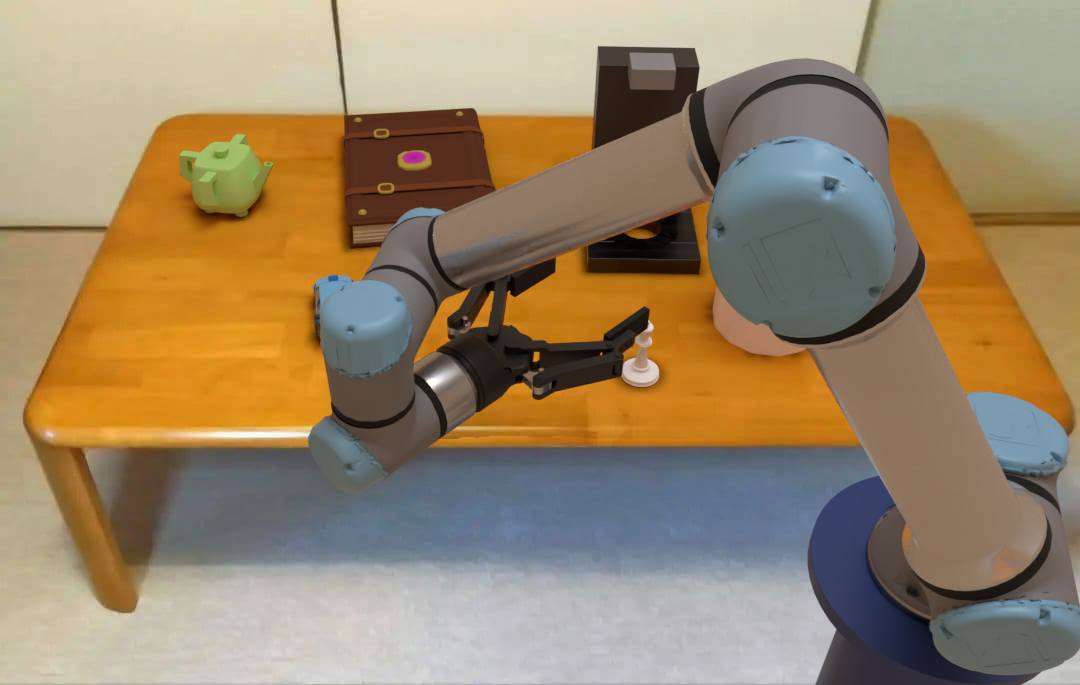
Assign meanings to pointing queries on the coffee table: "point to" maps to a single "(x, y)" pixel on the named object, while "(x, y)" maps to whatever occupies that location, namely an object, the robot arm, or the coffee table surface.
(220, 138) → the coffee table surface
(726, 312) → the container
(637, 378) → the chess piece
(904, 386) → the robot arm
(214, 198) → the teapot
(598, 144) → the column
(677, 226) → the drip pan
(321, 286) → the toy car
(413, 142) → the book
